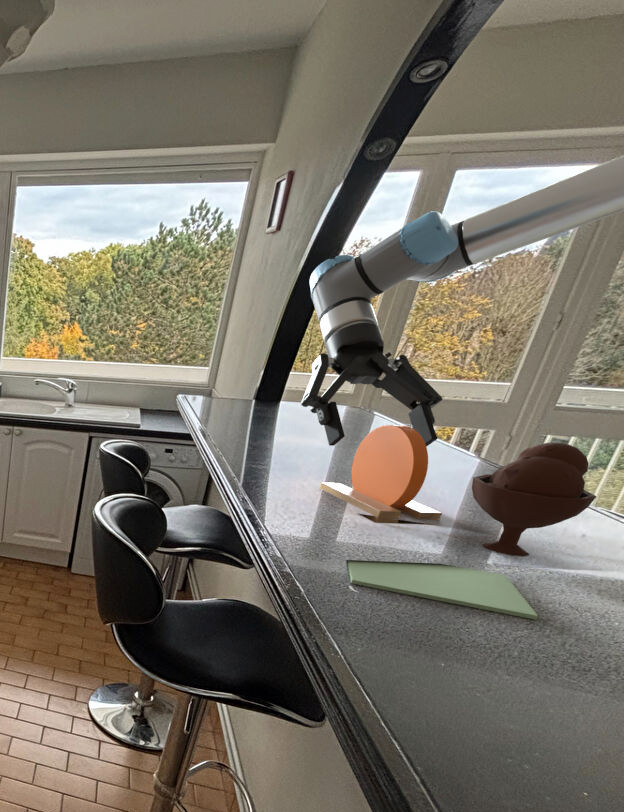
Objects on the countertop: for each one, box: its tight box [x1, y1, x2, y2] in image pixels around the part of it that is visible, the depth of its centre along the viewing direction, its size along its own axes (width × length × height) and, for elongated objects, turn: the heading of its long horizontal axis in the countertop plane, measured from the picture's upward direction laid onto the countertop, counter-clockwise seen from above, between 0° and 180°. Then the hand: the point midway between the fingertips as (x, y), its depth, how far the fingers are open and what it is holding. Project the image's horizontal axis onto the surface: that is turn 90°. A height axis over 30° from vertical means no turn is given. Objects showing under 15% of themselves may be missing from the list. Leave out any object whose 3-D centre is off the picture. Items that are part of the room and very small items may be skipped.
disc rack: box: [319, 482, 443, 526], centre depth 93 cm, size 9×15×3 cm, turn 175°
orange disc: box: [351, 424, 429, 509], centre depth 91 cm, size 2×13×13 cm, turn 175°
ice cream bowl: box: [471, 441, 597, 557], centre depth 75 cm, size 11×11×15 cm
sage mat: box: [345, 559, 539, 621], centre depth 70 cm, size 16×12×1 cm
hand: (382, 442), depth 92 cm, fingers open, 13 cm apart
